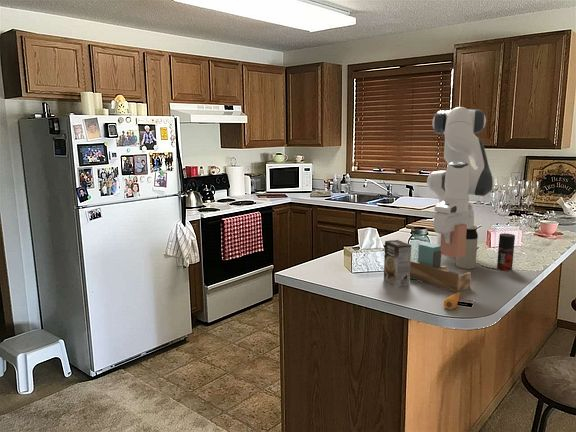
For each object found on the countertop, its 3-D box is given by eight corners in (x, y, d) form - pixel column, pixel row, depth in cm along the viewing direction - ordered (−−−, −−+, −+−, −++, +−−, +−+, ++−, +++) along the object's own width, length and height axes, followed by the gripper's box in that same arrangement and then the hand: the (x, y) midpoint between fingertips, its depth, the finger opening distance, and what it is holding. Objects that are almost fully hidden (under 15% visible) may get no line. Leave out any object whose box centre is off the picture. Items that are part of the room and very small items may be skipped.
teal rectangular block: (425, 270, 192) (426, 242, 190) (440, 275, 186) (442, 246, 184) (417, 272, 189) (418, 244, 187) (432, 277, 183) (434, 248, 181)
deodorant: (496, 270, 199) (499, 235, 196) (497, 266, 204) (499, 232, 201) (511, 271, 196) (515, 237, 193) (512, 268, 201) (515, 234, 199)
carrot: (452, 313, 156) (458, 302, 154) (439, 306, 157) (446, 295, 156) (462, 300, 173) (468, 290, 172) (451, 293, 175) (457, 283, 173)
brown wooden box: (422, 273, 195) (423, 257, 194) (469, 287, 178) (471, 270, 176) (408, 277, 190) (409, 260, 189) (455, 292, 172) (456, 274, 171)
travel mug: (473, 270, 199) (476, 229, 195) (454, 267, 202) (457, 227, 199) (476, 265, 205) (479, 225, 202) (457, 263, 209) (460, 223, 206)
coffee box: (382, 279, 187) (384, 240, 184) (396, 277, 190) (397, 239, 187) (396, 286, 179) (397, 246, 176) (410, 284, 181) (411, 244, 178)
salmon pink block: (447, 251, 182) (449, 221, 180) (464, 255, 176) (467, 224, 174) (439, 253, 179) (441, 223, 177) (456, 258, 173) (458, 226, 171)
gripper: (464, 201, 182) (462, 236, 185) (431, 207, 171) (429, 244, 173) (479, 204, 177) (477, 239, 180) (446, 209, 166) (444, 247, 168)
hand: (453, 241), depth 177 cm, fingers closed on salmon pink block, 5 cm apart
